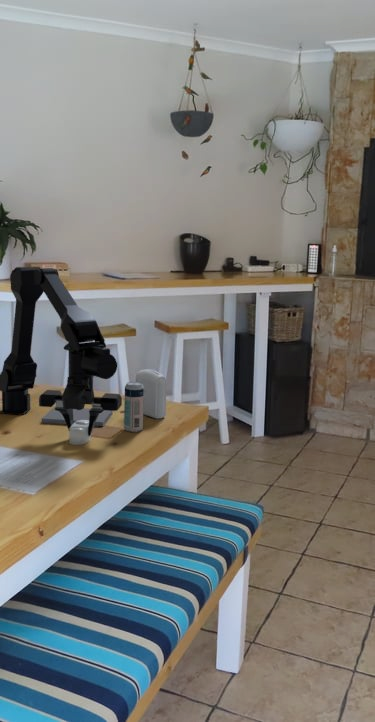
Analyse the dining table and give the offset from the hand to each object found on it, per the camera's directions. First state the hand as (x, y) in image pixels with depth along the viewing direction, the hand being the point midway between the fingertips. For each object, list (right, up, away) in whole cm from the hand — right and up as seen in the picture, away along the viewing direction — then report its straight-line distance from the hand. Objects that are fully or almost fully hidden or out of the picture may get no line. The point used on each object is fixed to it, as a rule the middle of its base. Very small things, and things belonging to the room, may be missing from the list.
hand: (80, 435), depth 165 cm
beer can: (+12, 0, +9) cm, 15 cm away
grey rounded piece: (0, -1, +1) cm, 2 cm away
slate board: (-3, +3, +17) cm, 18 cm away
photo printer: (+15, +3, +24) cm, 28 cm away
